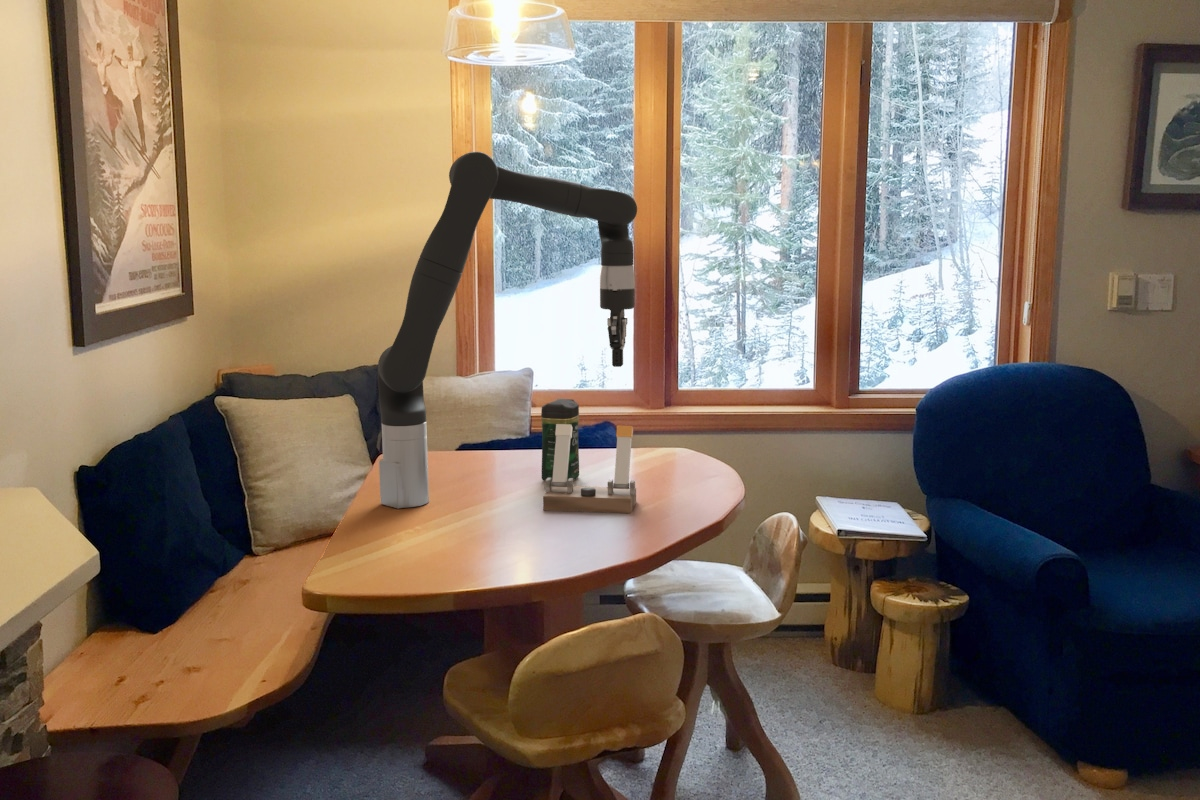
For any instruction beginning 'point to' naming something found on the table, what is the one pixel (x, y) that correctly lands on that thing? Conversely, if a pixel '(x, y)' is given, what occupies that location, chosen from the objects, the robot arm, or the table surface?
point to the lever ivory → (561, 455)
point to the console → (589, 498)
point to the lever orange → (623, 457)
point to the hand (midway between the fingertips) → (617, 366)
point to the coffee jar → (550, 416)
